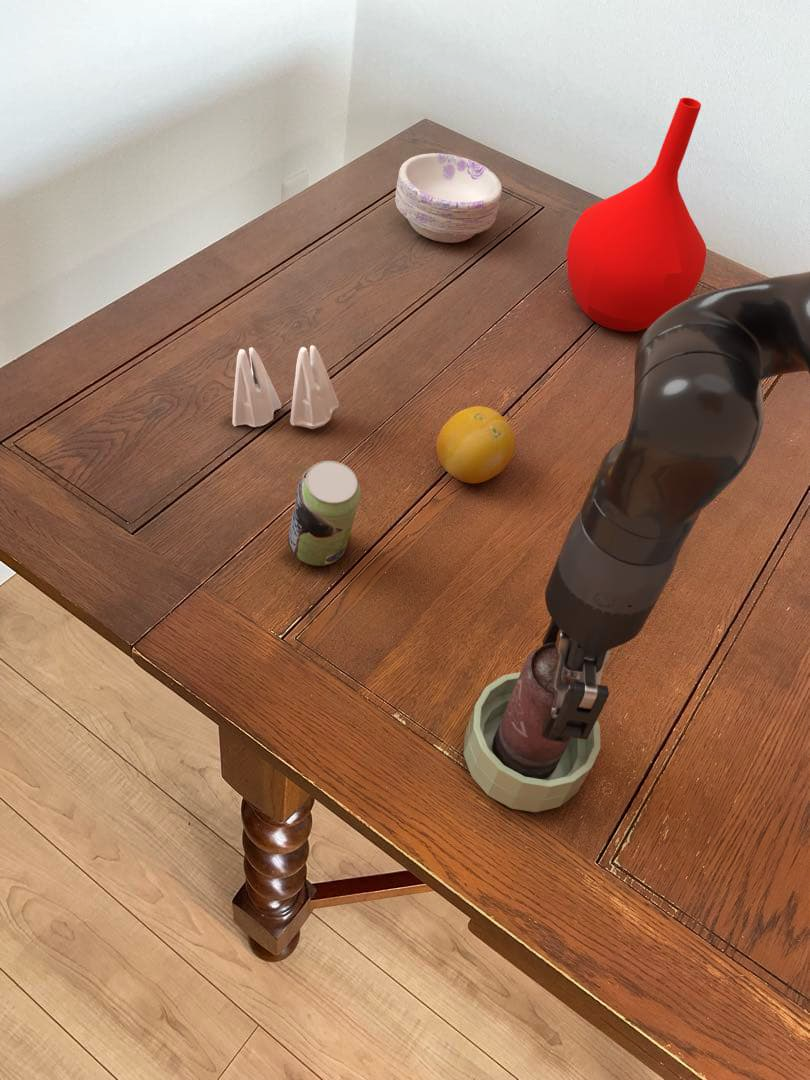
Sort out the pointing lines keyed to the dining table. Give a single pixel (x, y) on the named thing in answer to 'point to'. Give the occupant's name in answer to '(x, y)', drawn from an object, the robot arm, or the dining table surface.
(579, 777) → the sage bowl
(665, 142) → the vase
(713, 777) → the dining table surface
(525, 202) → the dining table surface
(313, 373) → the shaker set
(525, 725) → the can
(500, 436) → the fruit
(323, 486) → the beverage can
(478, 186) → the paper bowls
